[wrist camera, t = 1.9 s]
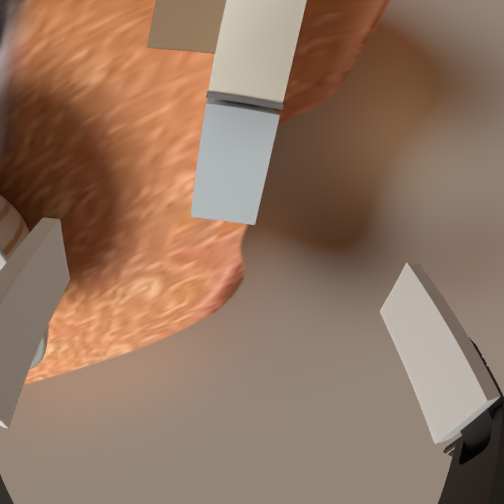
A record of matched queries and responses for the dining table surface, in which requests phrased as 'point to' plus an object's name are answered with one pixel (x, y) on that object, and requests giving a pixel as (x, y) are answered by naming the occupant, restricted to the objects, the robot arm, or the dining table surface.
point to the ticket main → (235, 43)
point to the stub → (233, 160)
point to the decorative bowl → (5, 244)
